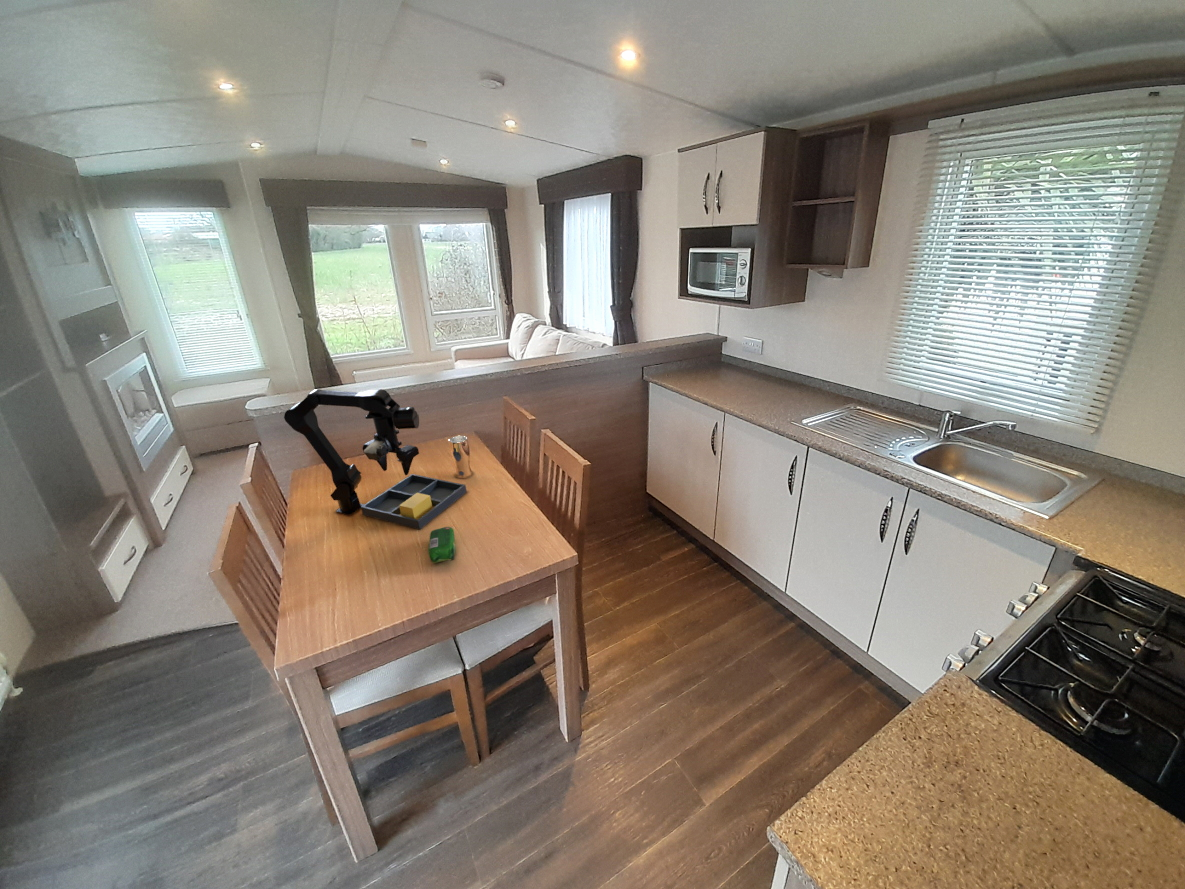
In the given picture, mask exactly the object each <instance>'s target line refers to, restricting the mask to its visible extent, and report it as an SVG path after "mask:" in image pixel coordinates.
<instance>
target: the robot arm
mask: <svg viewBox="0 0 1185 889" xmlns="http://www.w3.org/2000/svg"><path fill="white" fill-rule="evenodd" d="M319 406H333V407H346V408H347V407H349V408H359V409H361V410H363V411H366V412H368V413H367V414H366V416H365V417H364V418H365V419H366V420H370V419H371V420H373V424H374V425H373V426H374V428H375V434H373V439H371V440H370V441H367V442H366V443H363V445H362V451H363V454H364V455H365V456H366V457H367V459H368V460H370V461H371V460H373V461H376V462H377V463H378V465H379V466H380V468H381V469H382V471H383V472H386V471H387V470H388V454H389V453H391V454H395V455H396V458H397V462H399V463H400V464H401V468H402V471H403V474H404V476H409V474H410V473H409V472H410V469H411V467H412V463H413V460H414V458H416V457H417V456H418V455H420V451H419V447H418V446H416V445H411V444H406V445H405V446H403V447H401V446H402V445H403V443H402V441H400V440H398V439H399V438H398V434H400V430H412V429H413V430H415V429H419V426H420V415H419V414H418V412H417V410H416V409H415V407H414V406H409V407H401V405H400V404H399V403H398V402H397V401H396V400H394V399H393V397H392V396H391V395H390V393H389V392H387V390H385V389H381V388H380V389H370V390H366V391H363V392H362V391H360V392H357V391H340V390H325V389H324V390H323V389H319V388H317V389H314V390H312V391H311V392H309V393H308V394H307V395H306V397H305V398H304V399H303V400H302V401H301V402H297V403H296V404H294V405H293V406H292V407H290V408H288V409H287V410H286V411H285V412H284V416H283V420H284V421H285V422H286V423H287V425H288V426H289V427H290V428H291V429H292V430H293V431H295V432H297V433H299V434H301V435H302V436H304V438H305V439H306V440H307V441H308V443H309V445H310V446H311V447H312V448H313V449H314V451H315V452H316V454H317V455H318V456H319V458H320V459H321V460H322V462H323V463H324V464H325V465H326V468H328V469H329V471H330V473H331V479H332V482H333V485H334V486H335V489H334V490H333V492H332V493H331V494H330V497H331V499H332V500H333V501H337V504H338V507H339V508H337V509H336V510H335V512H336V513H338V514H342V515H347V516H351V515H353V514H355V513H357V511H359V510H361V506H363V505H365V503H361V502H360V498H359V497H358V493H357V492H356V489H357V488H358V486H359V485H360V483H361V481H362V475H361V474H362V471H360V470H359V469H358V468H357V466H356V464H355V463H352V464H351V465H350V464H348V463H346V462H345V461H344V460H343V458H342V457H341V455H340V454H339V453H338V451H337V449H335V446H333V444H332V443H331V442H330V440H329V439H328V438H327V436H326V435H325V433H324V432H323V431H322V429H321V428H320V426H319V421H318V416H317V414H316V413H315V409H317V407H319ZM387 407H389V408H387Z"/></svg>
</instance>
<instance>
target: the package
mask: <svg viewBox="0 0 1185 889" xmlns="http://www.w3.org/2000/svg"><path fill="white" fill-rule="evenodd" d="M399 508H400V512H401V515H402V516H406V517H410V518H414V519H419V518H421V517H422V516H423V515H424V514H426V513H427V512H428V511H430V510H431V509H432V503H431V498H430V495H425V494H421V493H416V494H415V495H413V496H412V497H410V498H409V499H408V500H406V501H405V502H403V503H402V504H400V505H399Z"/></svg>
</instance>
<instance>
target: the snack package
mask: <svg viewBox="0 0 1185 889" xmlns="http://www.w3.org/2000/svg"><path fill="white" fill-rule="evenodd" d="M455 538H456V537H455V532H454V528H453V527H452V526H444V527H443V526H442V527H440V528H435V529H433V530H431V531H430V533H429V540H428V555H429V559H430V562H432V563H434V564H436V563H437V564H438V563H441V562H445V561H449V560H450V561H454V560H455V553H456V545H455V544H456V543H455V540H456V539H455Z"/></svg>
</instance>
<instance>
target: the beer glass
mask: <svg viewBox="0 0 1185 889" xmlns="http://www.w3.org/2000/svg"><path fill="white" fill-rule="evenodd" d="M448 441H449V442H448V443H449V451H450V455H451V458H452V461H453V463H454V467H455V477H456V478H458V479H466V478H470V477H471V476H472V475H473V471H472V468H471V465H470V464H471V463H470V462H471V461H470V459H471V450H470V445H469V440H468V437H467V436H466V435H455V436H452V437H450V438H449V439H448Z"/></svg>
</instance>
